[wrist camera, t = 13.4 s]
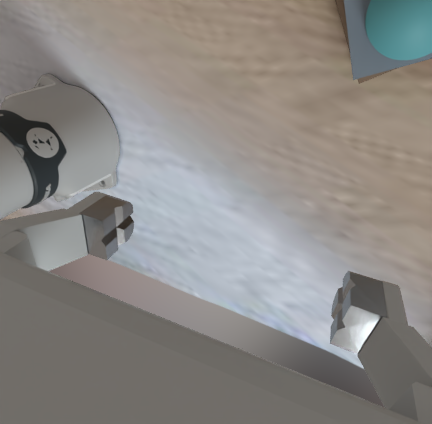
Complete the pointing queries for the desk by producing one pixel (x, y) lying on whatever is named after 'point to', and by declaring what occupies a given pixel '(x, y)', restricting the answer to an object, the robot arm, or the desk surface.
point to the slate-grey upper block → (367, 44)
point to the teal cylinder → (400, 28)
